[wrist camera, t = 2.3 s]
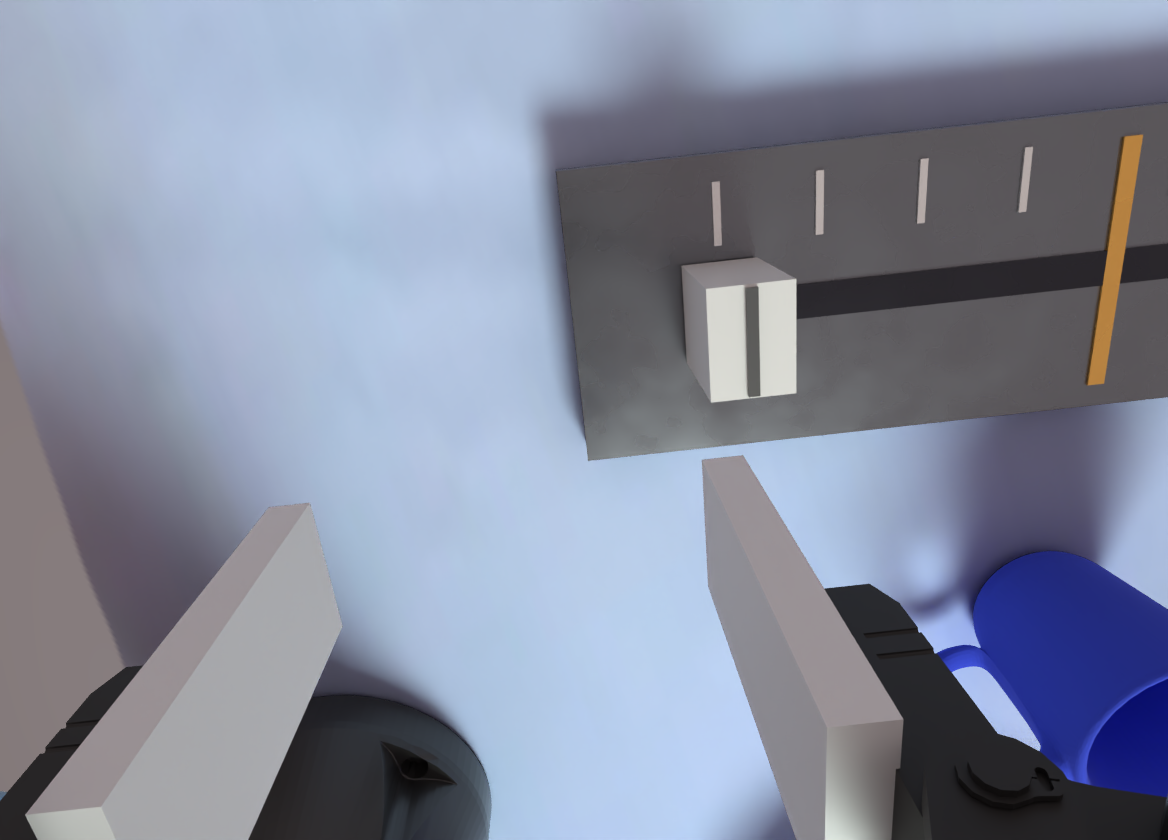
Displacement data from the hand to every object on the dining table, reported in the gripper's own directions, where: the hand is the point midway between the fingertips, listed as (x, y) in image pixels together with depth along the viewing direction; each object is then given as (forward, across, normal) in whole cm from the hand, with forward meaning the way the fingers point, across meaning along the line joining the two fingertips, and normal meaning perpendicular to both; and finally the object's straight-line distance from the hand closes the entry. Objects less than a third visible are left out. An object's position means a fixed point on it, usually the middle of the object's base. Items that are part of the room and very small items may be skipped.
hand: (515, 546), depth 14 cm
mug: (+19, +22, -18) cm, 34 cm away
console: (+19, +16, 0) cm, 25 cm away
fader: (+17, +7, 0) cm, 18 cm away
